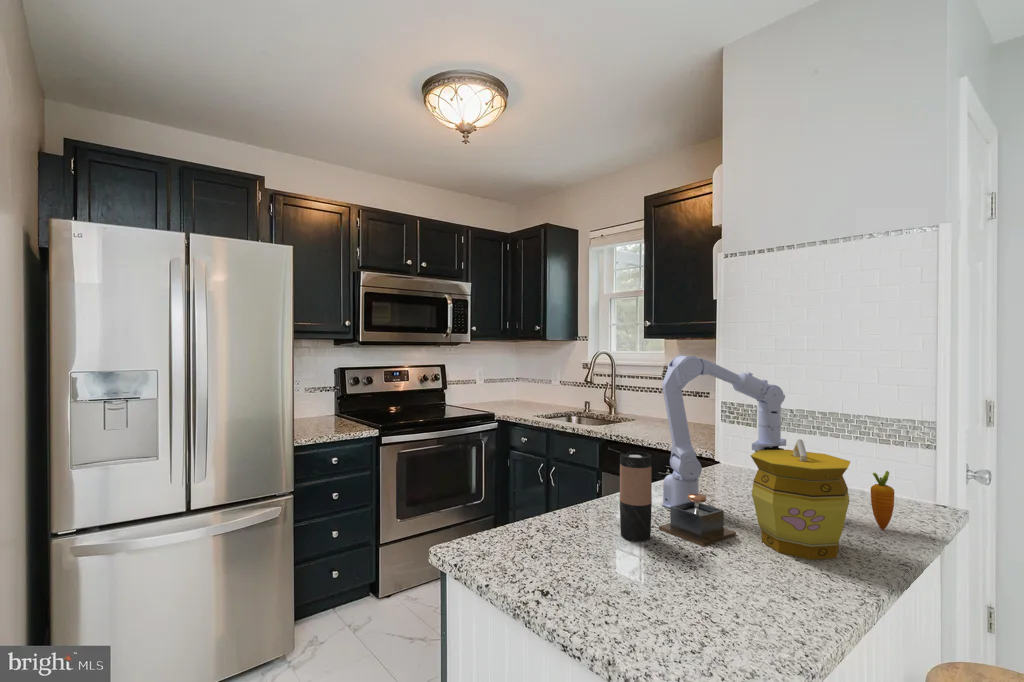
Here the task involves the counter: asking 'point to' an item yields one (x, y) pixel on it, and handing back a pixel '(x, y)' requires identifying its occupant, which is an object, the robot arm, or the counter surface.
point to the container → (800, 501)
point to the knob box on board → (697, 524)
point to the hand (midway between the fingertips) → (769, 473)
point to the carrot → (882, 501)
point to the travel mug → (635, 496)
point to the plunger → (697, 503)
